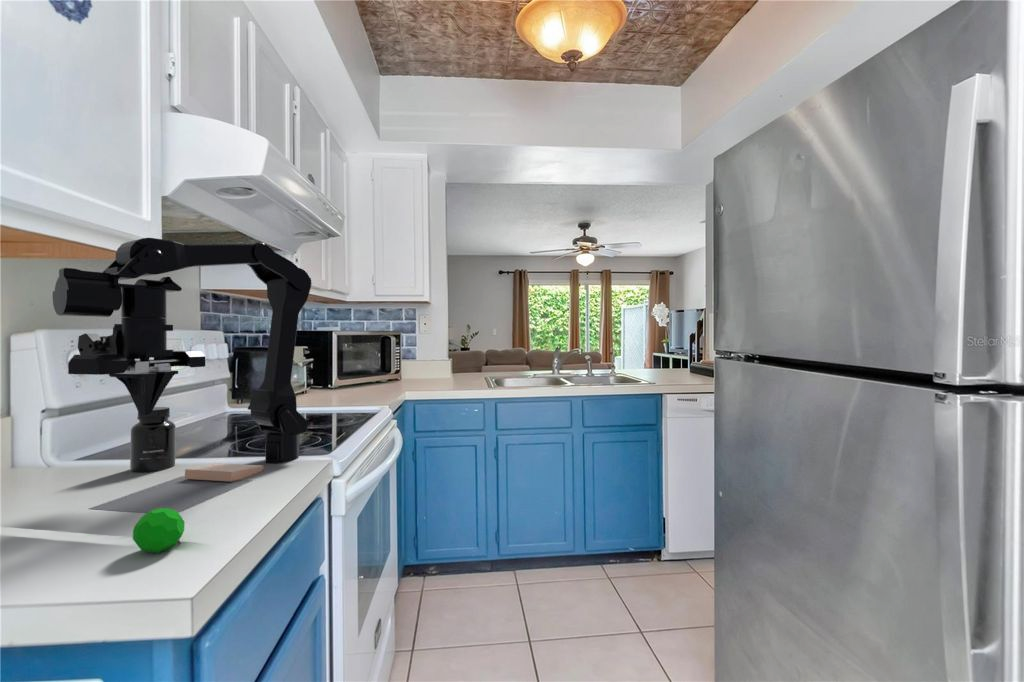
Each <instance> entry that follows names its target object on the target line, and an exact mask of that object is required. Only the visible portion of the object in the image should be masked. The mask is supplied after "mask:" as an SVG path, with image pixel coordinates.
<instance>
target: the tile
mask: <svg viewBox="0 0 1024 682" xmlns="http://www.w3.org/2000/svg"><path fill="white" fill-rule="evenodd" d="M262 471H264V465H262V464H261V465H260V464H259V465H258V464H257V465H256V464H240V463H239V464H238V463H222V462H221V463H215V464H209V465H203V466H198V467H192V468H191V467H190V468H186V469H185V470H184V476H185V477H184V479H196V480H213V481H230V482H231V481H235V480H244V479H245V478H248V477H251V476H252V475H253V476H254V475H255V474H257V473H259V472H262Z"/></svg>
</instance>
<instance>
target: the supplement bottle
mask: <svg viewBox="0 0 1024 682" xmlns="http://www.w3.org/2000/svg"><path fill="white" fill-rule="evenodd" d="M170 410H171V409H170V407H169V406H168V407H167V406H157V407H156V406H155V407H154V408H153V410H152V412H151V414H150V415H147V416H141V415H140V414H139V412H138V411H137V420H138V422H137V423H135V424H133V426H132V427H131V429H130V452H129V453H130V454H129V455H130V457H129V460H130V462H129V463H130V464H129V467H130V468H129V471H130V472H131V473H135V474H136V473H137V474H141V473H142V474H144V473H146V474H147V473H154V472H160V471H165V470H168V469H172V468H173V467H175V466H176V439H177V438H176V435H177V433H176V431H177V430H176V424H175V423H174V422H173V421H171V420H169V418H170V417H171V414H170Z"/></svg>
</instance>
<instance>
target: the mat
mask: <svg viewBox="0 0 1024 682" xmlns="http://www.w3.org/2000/svg"><path fill="white" fill-rule="evenodd" d="M184 477H185V475H182V476H178V477H176V478H173V479H170V480H167V481H164V482H162V483H159V484H155V485H153V486H150V487H147V488H144V489H142V490H138V491H135V492H133V493H130V494H126V495H124V496H121V497H118V498H115V499H112V500H109V501H107V502H104V503H101V504H98V505H95V506H91V507H89V508H88V510H95V511H97V510H98V511H107V512H110V511H111V512H123V513H124V512H127V513H137V514H138V513H140V514H147V513H148V512H150V511H153V510H156V509H159V508H168V509H172V510H175V511H177V512H178V513H179V514H180V513H181V512H184V511H185V510H189V509H191V508H192V507H195V506H197V505H200V504H202V503H204V502H206V501H209V500H212V499H213V498H216V497H218V496H220V495H222V494H223V495H224V494H226V493H228V492H230V491H232V490H235V489H237V488H239V487H241V486H244V485H246V484H248V483H251V482H253V481H254V480H253V479H240V480H235V481H231V482H230V481H213V480H196V479H184Z"/></svg>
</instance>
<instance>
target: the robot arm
mask: <svg viewBox="0 0 1024 682" xmlns="http://www.w3.org/2000/svg"><path fill="white" fill-rule="evenodd" d="M236 265H247V266H248V267H250V269H251V270H252V272H253V274H254V275H255V276H256V278H258V280H260V281H261V282H262V283H263V284H264V285H266V295H267V296H266V297H267V299H268V303H269V305H270V308H271V311H272V315H271V321H270V322H271V323H270V330H269V338H268V346H267V354H266V362H265V372H264V377H263V378H264V379H263V381H262V383H261V385H260V386H259V388H258V389H257V388H252V389H250V399H249V400H250V402H249V404H248V407H247V410H250V417H251V419H252V420H253V421H254V422H255V423H256V424H257V425H258V428H259V431H260V432H262V433H266V434H265V445H264V446H265V449H264V450H265V458H264V459H265V460H264V463H265V464H273V465H275V464H276V465H277V464H283V463H286V462H291V461H295V460H297V459H299V456H300V453H301V452H300V450H301V449H300V434H303V433H306V432H307V430H308V427H309V423H310V422H309V421H308V420H307V419H306V418H305V417H304V416H303V415H302V414H301V413H299V412H298V410H297V407H298V406H297V396H296V393H295V390H294V388H293V385H292V375H293V373H292V372H293V367H294V366H293V365H294V357H295V349H296V340H297V333H298V323H299V315H300V312H301V310H302V309H303V307H304V306H305V304H306V303H307V301H308V299H309V295H310V292H311V289H312V278H311V276H309V274H308V272H307V271H305V270H304V269H303V268H301V267H298V266H297V265H296V264H295V263H294V262H292V261H290V259H287V257H284V256H283V255H281V254H279V253H277V252H276V251H274V249H272V248H271V247H270V246H268V245H267V244H265V243H263V242H254V243H238V244H237V243H231V244H230V243H228V244H226V243H223V244H219V243H218V244H187V243H182V242H178V241H174V240H169V239H161V238H154V237H144V238H139V239H135V240H134V239H133V240H130V241H125V242H122V244H120V246H118V247H117V249H116V252H115V260H113V261H112V262H111V263H110V264H109V265H108V266H107V267H106V268H105V269H103V271H102V272H100V271H88V270H81V269H78V268H73V267H72V268H71V267H64V268H63V267H62V268H59V270H58V278H57V279H56V282H55V286H54V290H53V291H52V306H53V309H54V311H55V313H56V315H58V316H62V317H63V316H64V317H65V316H68V317H70V316H72V317H102V318H105V317H106V318H109V317H111V316H112V315H113V313H114V311H117V312H118V311H119V310H120V309H121V312H120V314H121V323H114V324H113V325H114V326H113V327H112V334H110V335H107V336H105V335H102V336H100V335H99V334H98V333H83V334H81V335H79V336H78V339H77V350H78V353H79V354H74V355H73V356H72V357H71V358H70V359H69V361H68V362H67V363H68V364H67V365H68V367H67V368H68V369H67V372H68V373H67V375H94V376H95V375H97V376H98V375H99V376H101V375H108V376H109V377H110V378H116V379H117V380H119V381H120V382H121V383H122V384H124V386H125V388H126V390H127V391H128V394H129V395H130V397H131V399H132V401H133V404H134V406H135V408H136V409H137V413H138V412H139V414H140V415H141V416H147V415H150V414H151V412H152V410H153V408H154V407H156V405H157V403H158V401H159V400H160V398H161V395H162V394H163V392H164V391H165V389H166V388H167V386H168V384H170V382H171V380H172V379H173V377H174V376H175V375H178V374H179V370H172V367H190V368H201V367H203V368H204V367H206V355H205V354H204V353H203V352H202V351H201V350H174V349H167V345H168V344H167V342H168V341H167V340H168V339H167V338H168V337H167V335H168V334H167V332H174V324H167V293H174V292H181V291H182V289H183V288H182V287H181V286H180V285H179V284H178V283H176V282H175V281H174V279H173V280H172V277H171V276H163V277H161V278H160V279H159V280H155V279H145V278H144V279H143V278H141V277H147V276H156V275H161V274H162V275H163V274H165V273H170V272H174V271H178V270H183V269H187V268H195V267H196V268H198V267H215V266H216V267H217V266H236ZM138 278H139V279H138ZM131 279H132V280H134V279H138V280H136V282H135V283H134V284H132V283H131V284H129V283H120V282H119V281H125V280H131ZM151 358H153V359H151Z"/></svg>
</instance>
